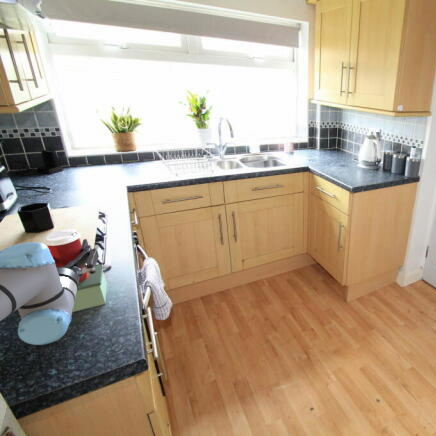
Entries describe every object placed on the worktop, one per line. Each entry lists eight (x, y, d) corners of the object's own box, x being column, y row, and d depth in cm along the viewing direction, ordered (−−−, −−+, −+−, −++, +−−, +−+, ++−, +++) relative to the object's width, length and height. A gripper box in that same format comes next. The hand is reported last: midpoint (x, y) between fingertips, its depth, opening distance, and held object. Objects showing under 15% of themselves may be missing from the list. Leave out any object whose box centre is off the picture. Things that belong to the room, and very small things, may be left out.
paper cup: (98, 269, 95) (84, 227, 89) (84, 285, 88) (69, 240, 82) (68, 271, 93) (53, 228, 88) (52, 287, 86) (34, 241, 81)
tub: (54, 317, 86) (45, 295, 83) (61, 295, 95) (53, 274, 92) (107, 304, 92) (100, 282, 89) (108, 284, 101) (102, 263, 98)
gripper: (6, 315, 70) (31, 265, 88) (110, 290, 79) (114, 249, 97) (-7, 287, 67) (22, 241, 85) (103, 265, 76) (107, 227, 94)
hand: (71, 246), depth 91 cm, fingers closed on paper cup, 6 cm apart
